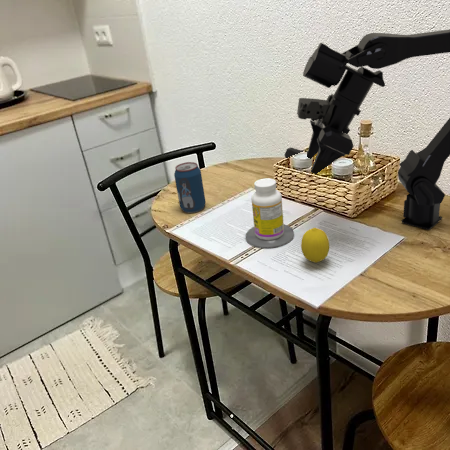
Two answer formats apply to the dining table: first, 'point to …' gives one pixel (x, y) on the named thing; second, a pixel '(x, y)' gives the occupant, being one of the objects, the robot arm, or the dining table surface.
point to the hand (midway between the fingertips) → (310, 165)
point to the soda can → (189, 187)
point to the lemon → (315, 245)
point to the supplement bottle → (267, 210)
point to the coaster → (275, 243)
